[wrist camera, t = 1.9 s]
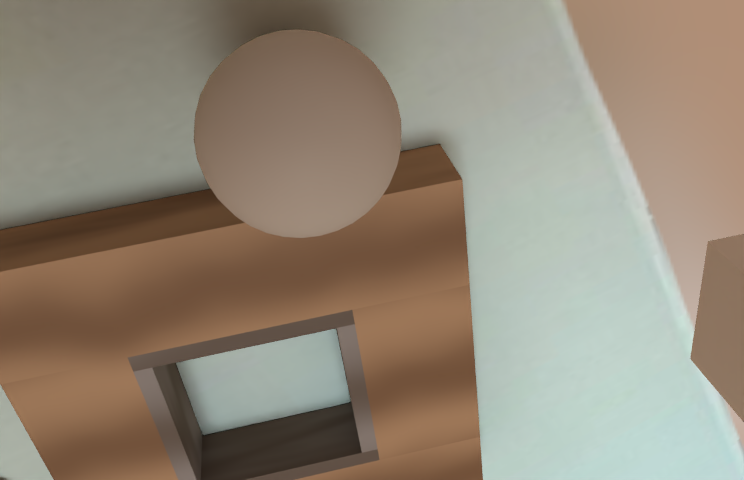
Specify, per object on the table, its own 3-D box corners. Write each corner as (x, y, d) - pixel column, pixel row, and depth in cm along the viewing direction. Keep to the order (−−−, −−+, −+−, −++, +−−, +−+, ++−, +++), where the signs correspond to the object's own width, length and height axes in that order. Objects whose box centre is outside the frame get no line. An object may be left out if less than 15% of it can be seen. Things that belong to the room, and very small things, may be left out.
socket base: (-28, 235, 29) (-57, 283, 27) (439, 144, 31) (462, 179, 28) (123, 533, 40) (115, 590, 37) (466, 453, 42) (484, 502, 39)
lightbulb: (363, -22, 27) (435, 68, 18) (354, 130, 30) (411, 273, 21) (197, -28, 26) (181, 64, 17) (205, 130, 29) (196, 282, 20)
